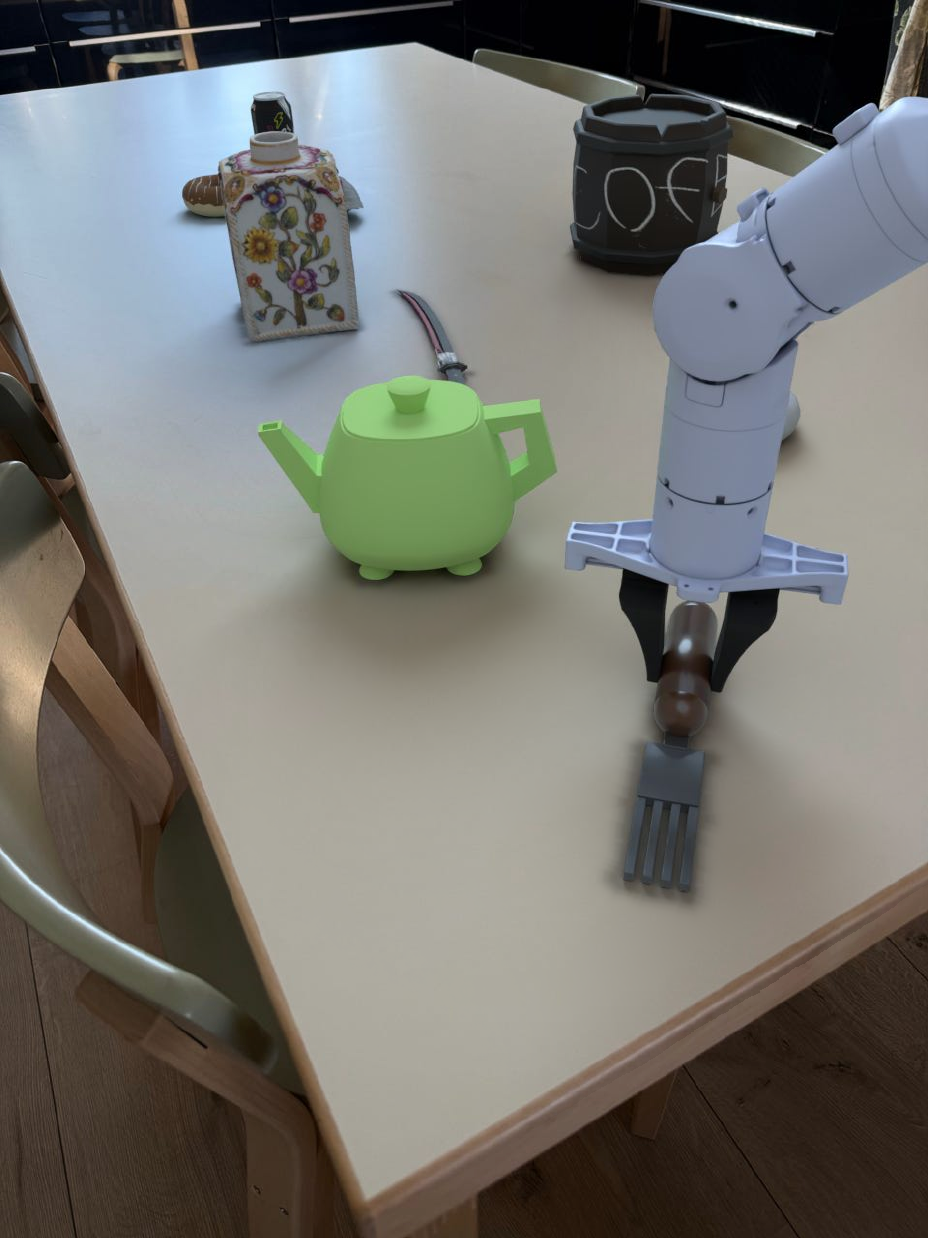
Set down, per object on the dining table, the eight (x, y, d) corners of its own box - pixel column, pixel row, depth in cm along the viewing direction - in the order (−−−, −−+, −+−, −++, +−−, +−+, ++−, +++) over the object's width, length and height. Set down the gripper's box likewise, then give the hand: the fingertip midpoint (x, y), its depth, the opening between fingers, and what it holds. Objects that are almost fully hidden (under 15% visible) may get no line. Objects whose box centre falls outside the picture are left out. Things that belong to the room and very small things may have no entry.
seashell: (296, 206, 137) (291, 168, 134) (354, 200, 139) (351, 162, 136) (305, 233, 128) (300, 192, 125) (368, 226, 130) (365, 186, 126)
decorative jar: (240, 303, 110) (209, 127, 98) (343, 291, 112) (324, 117, 100) (248, 345, 101) (215, 156, 89) (361, 331, 103) (342, 144, 91)
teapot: (270, 605, 67) (238, 439, 59) (290, 500, 77) (264, 347, 69) (565, 591, 67) (572, 423, 59) (544, 488, 77) (548, 334, 69)
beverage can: (307, 179, 148) (296, 90, 140) (288, 190, 144) (275, 99, 136) (274, 176, 150) (262, 88, 142) (254, 187, 146) (240, 97, 138)
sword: (486, 405, 88) (486, 392, 87) (453, 409, 87) (452, 396, 87) (422, 294, 112) (422, 283, 111) (396, 297, 111) (395, 286, 111)
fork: (667, 624, 64) (672, 587, 62) (717, 631, 63) (724, 594, 61) (622, 879, 48) (627, 840, 47) (688, 892, 48) (695, 854, 46)
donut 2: (169, 215, 136) (162, 184, 134) (219, 194, 143) (214, 165, 141) (228, 224, 132) (223, 193, 129) (277, 203, 139) (273, 173, 137)
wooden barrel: (676, 291, 108) (692, 136, 98) (540, 261, 117) (543, 116, 107) (746, 244, 119) (767, 101, 109) (617, 220, 128) (626, 85, 118)
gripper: (557, 499, 48) (550, 702, 56) (871, 536, 45) (814, 744, 53) (582, 431, 53) (572, 626, 62) (865, 460, 50) (813, 660, 58)
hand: (685, 675), depth 58 cm, fingers closed on fork, 3 cm apart
